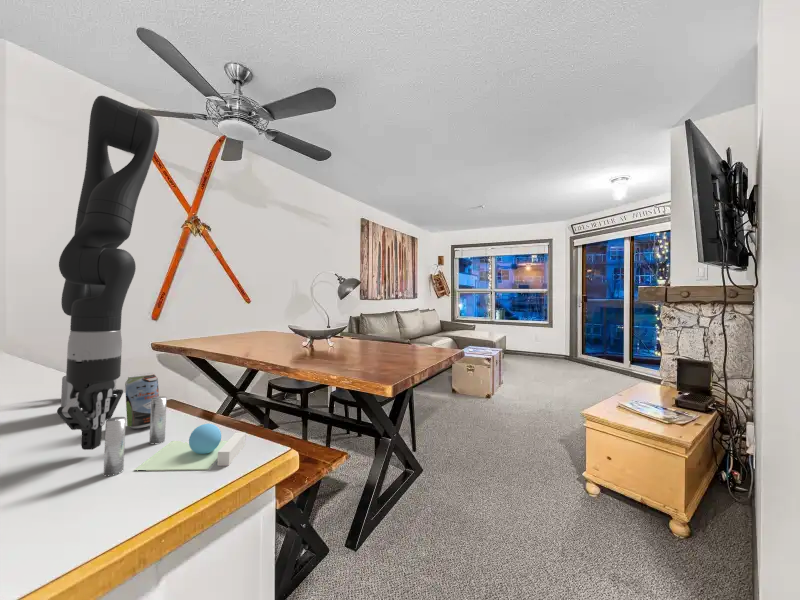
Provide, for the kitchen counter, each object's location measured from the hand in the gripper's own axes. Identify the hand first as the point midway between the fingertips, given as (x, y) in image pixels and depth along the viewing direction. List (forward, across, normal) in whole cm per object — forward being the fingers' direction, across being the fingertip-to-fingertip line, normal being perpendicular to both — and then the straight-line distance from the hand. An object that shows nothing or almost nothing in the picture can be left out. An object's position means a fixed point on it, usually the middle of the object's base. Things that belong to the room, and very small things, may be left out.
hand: (91, 447), depth 63 cm
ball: (-1, -1, +20) cm, 20 cm away
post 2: (+2, -6, +8) cm, 10 cm away
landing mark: (+2, 0, +17) cm, 17 cm away
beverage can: (+2, -15, 0) cm, 15 cm away
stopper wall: (+2, 0, +25) cm, 25 cm away
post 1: (+2, +6, +8) cm, 10 cm away
